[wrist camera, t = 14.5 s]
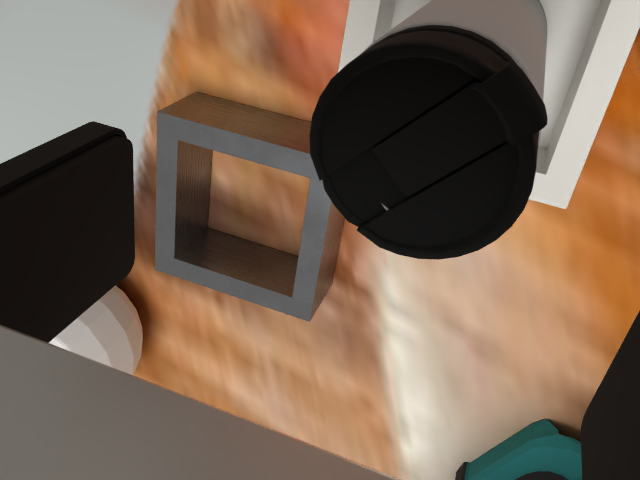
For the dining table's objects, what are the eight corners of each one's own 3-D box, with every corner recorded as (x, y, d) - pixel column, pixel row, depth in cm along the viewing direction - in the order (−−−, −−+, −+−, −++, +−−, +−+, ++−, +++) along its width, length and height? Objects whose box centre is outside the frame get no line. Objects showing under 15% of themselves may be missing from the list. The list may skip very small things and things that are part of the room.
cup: (39, 317, 59) (-42, 381, 51) (60, 221, 52) (-30, 277, 44) (147, 383, 58) (82, 459, 50) (183, 295, 52) (114, 366, 43)
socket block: (196, 91, 42) (157, 111, 38) (360, 135, 40) (338, 161, 36) (189, 238, 48) (155, 269, 44) (332, 284, 46) (309, 321, 42)
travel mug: (577, 46, 31) (603, 202, 15) (466, 116, 35) (384, 308, 18) (511, -61, 30) (456, -25, 13) (403, 23, 33) (251, 135, 17)
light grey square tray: (401, -122, 33) (370, -128, 27) (658, -78, 30) (680, -75, 24) (357, 111, 39) (326, 143, 34) (564, 164, 37) (565, 209, 31)
